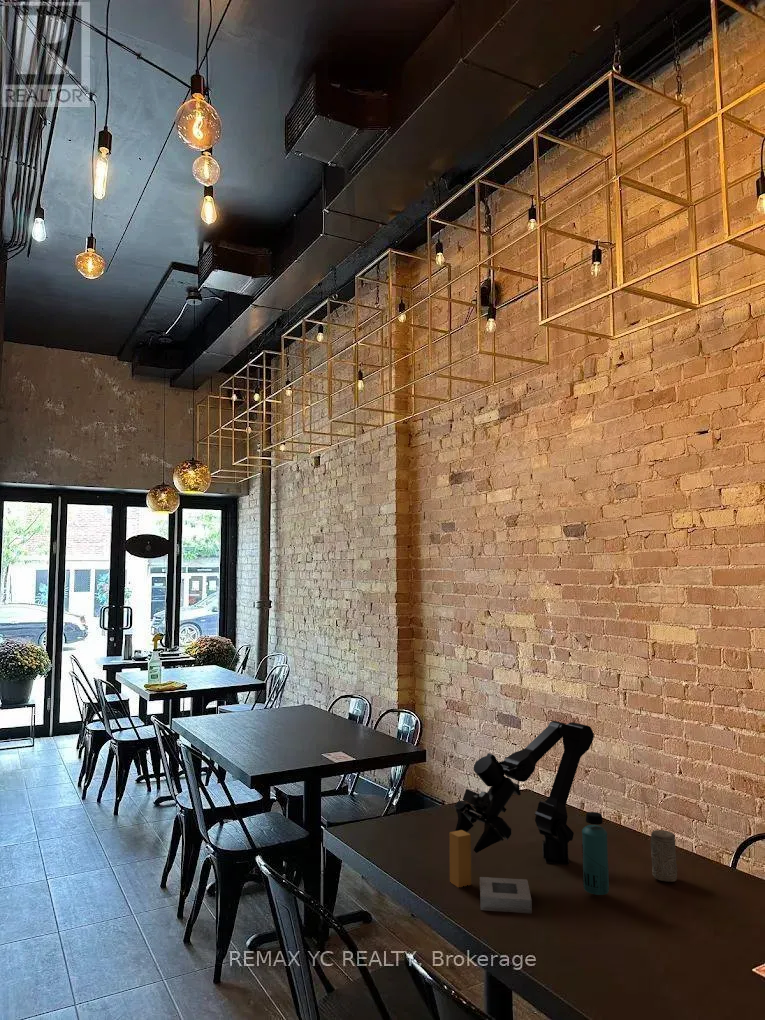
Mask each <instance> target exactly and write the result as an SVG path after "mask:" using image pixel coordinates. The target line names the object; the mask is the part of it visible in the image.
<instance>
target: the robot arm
mask: <svg viewBox="0 0 765 1020" xmlns="http://www.w3.org/2000/svg"><path fill="white" fill-rule="evenodd" d="M594 739H595V733H594V732H593V729H592V727H591V726H589V725H586V724H582V723H579V722H573V721H571V722H569V723H564V722H560V721H558V720H557V721H556V720H552V721H550V722H549V723H548V725H547V727H546V728H545V729H543V730H542V731H541V733H539V734H538V735H537V736H536V737H534V739H533V740H532V741H531V742H530V743H529V744H527V745H526V746H525V747H524V748H522V749H521V750H519V751H514V752H513V753H511V754H510V755H509V756H506V757H505V759H504V760H502V761H498V760H497V758H496V756H495V755H494V754H492V753H487V754H486V756H481V758H479V759H478V760H476V761H475V763H474V765H473V771H474V772H475V774H476V775H477V776H478V778H479V779H480V780H481V782H483V783H484V785H485V786H487V787H489V789H488V790H487V791H480V793H479V792H475V791H473V790H470V789H468V788H466V789H465V791H464V794H463V798H462V800H458V801H457V802H456V803H455V805H454V806H453V807H454V809H455V812H456V814H457V822H456V826H455V830H454V831H459V830H463V831H465V832H467V833H469V831H470V830H471V829H472V828H473V827H474V823H476V822H480V823H482V824H484V825H483V827H484V828H483V833H482V834H481V836H480V837H479V839H478V840H477V842H476V844H475V845H474V848H473V852H474V853H475V854H478V853H479V852H481V851H483V850H484V849H487V848H489V847H490V846H492V845H494V844H496V843H499V842H504V840H507V841H508V840H510V837H511V836H512V827H511V826H510V825H508V823H507V822H506V821H505V820H504V819H503V818H502V817H500V816H499V815H501V813H506V811H507V808H506V805H507V804H508V802H509V800H510V799H511V798H512V796H513V795H517V796H521V795H522V793H521V789H520V787H521V786H520V784H518V783H517V782H522V783H525V782H527V781H528V780H529V779H530V777H531V776H532V775H533V773H534V772H535V770H536V765H537V764H538V762H539V760H541V759H542V758H543V757H544V756H545V755H546V754H547V753H548V752H549V751H550V750H551V749H552V748H554V746H555V745H556V744H558V742H559V741H562V745H563V753H562V757H561V759H560V763H559V766H558V767H557V771H556V775H555V777H554V779H553V780H554V781H553V783H552V787H551V790H550V793H549V796H548V798H547V799H546V800H545V801H542V800H539V802H538V804H537V808H536V811H534V815H535V818H534V821H535V824H536V827H537V828H538V832H539V834H540V835H542V836H544V837H543V838H544V839H543V840H542V843H541V844H542V845H541V847H542V849H541V850H542V858H543V859H544V861H545V863H546V864H559V865H570V860H569V843H570V842H572V841H573V838H574V834H575V833H574V831H573V830H572V829H571V828H570V827H569V826H568V824H567V822H568V813H567V807H566V805H567V801H568V798H569V795H570V792H571V790H572V786H573V783H574V780H575V777H576V773H577V770H578V768H579V763H580V760H581V758H582V756H583V755H584V754H586V753H587V752H588V751H589V750H590V748H591V746H592V743H593V741H594ZM512 779H513V780H515V781H517V782H516V783H515V782H513V780H512Z"/></svg>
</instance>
